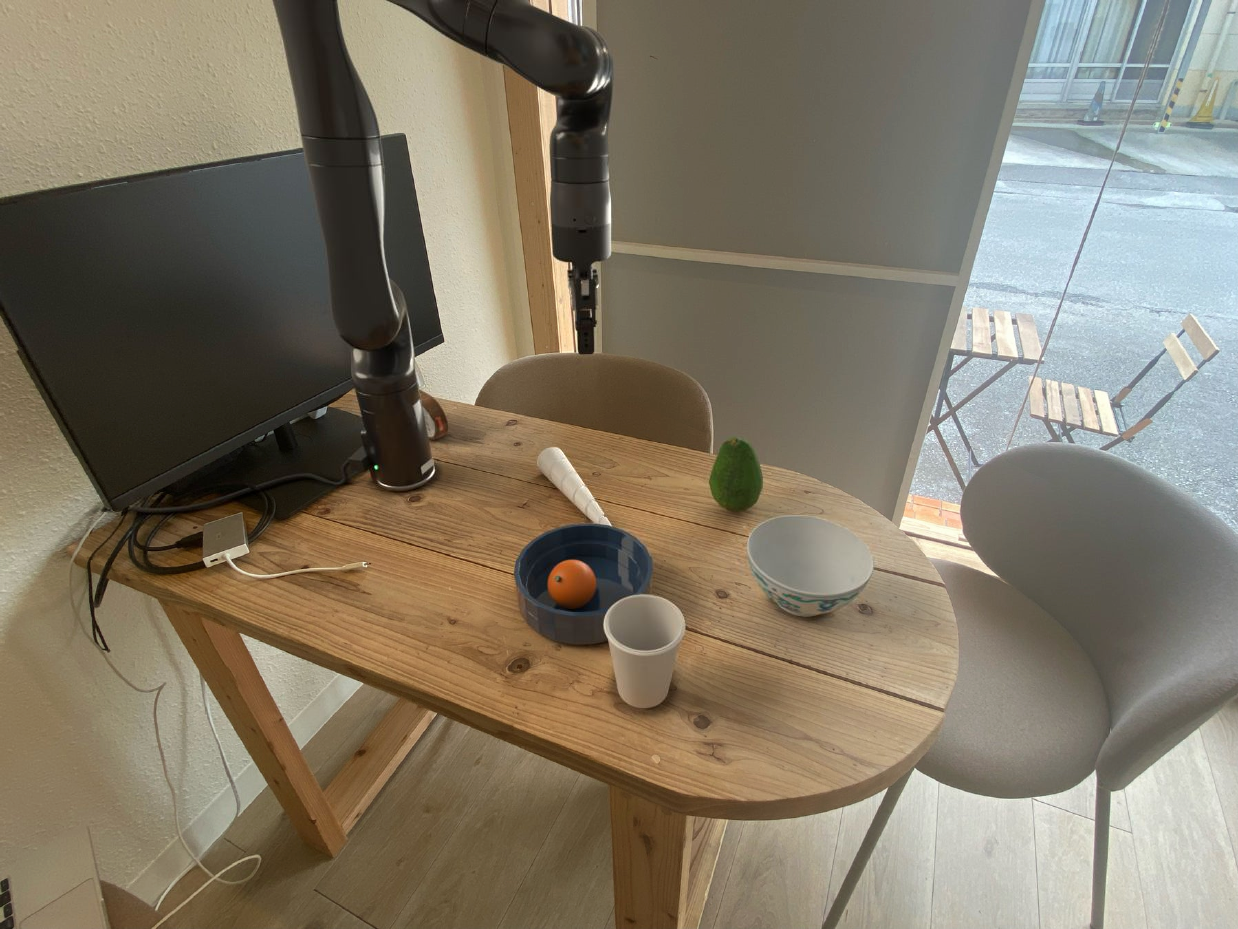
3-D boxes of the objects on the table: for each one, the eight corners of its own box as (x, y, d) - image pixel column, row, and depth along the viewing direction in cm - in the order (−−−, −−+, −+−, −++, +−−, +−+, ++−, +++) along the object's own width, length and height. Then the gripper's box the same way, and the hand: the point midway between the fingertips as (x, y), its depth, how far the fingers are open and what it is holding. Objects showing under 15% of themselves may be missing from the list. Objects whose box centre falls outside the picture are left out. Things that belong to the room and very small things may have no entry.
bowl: (497, 635, 77) (492, 602, 74) (543, 546, 91) (540, 515, 88) (637, 660, 74) (637, 626, 71) (662, 564, 88) (663, 532, 85)
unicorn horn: (596, 554, 89) (595, 527, 87) (536, 473, 108) (534, 449, 105) (626, 544, 91) (626, 517, 89) (562, 466, 109) (560, 442, 107)
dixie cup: (592, 703, 69) (589, 638, 63) (623, 648, 75) (623, 584, 70) (665, 730, 66) (668, 664, 60) (691, 670, 72) (696, 606, 67)
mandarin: (562, 613, 82) (533, 604, 76) (566, 566, 84) (538, 555, 79) (603, 612, 79) (575, 603, 74) (606, 564, 81) (580, 552, 76)
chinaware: (719, 577, 85) (724, 532, 81) (811, 548, 90) (819, 504, 86) (786, 658, 74) (796, 610, 70) (887, 620, 79) (902, 572, 74)
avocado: (718, 488, 103) (724, 422, 97) (765, 501, 100) (774, 434, 94) (699, 514, 97) (704, 446, 91) (749, 529, 94) (758, 459, 88)
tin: (452, 441, 117) (445, 399, 112) (438, 447, 115) (430, 406, 110) (408, 415, 126) (400, 376, 121) (394, 421, 124) (385, 381, 119)
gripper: (550, 208, 85) (556, 325, 94) (551, 231, 73) (558, 363, 82) (606, 207, 86) (607, 323, 95) (616, 230, 74) (616, 360, 83)
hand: (584, 341), depth 88 cm, fingers open, 8 cm apart
